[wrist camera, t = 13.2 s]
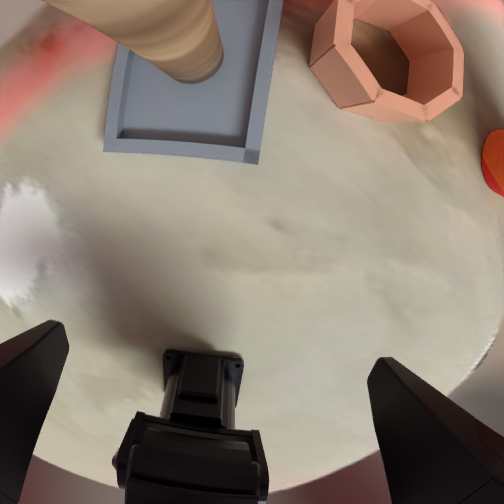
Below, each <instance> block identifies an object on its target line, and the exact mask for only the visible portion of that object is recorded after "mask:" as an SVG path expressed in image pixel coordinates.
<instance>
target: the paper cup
mask: <svg viewBox="0 0 504 504" xmlns="http://www.w3.org/2000/svg"><path fill="white" fill-rule="evenodd" d="M481 164H482V172H483V176H484V179H485V181H486V183H487V185H488V187H489V188H490V189H491V190H492V191H494V192H495V193H497V194H499V195H501V196H503V197H504V129H497V130H494V131H492V132H491V133H490V134H489V135H488V136H487V138H486V140H485V142H484V145H483V149H482V157H481Z"/></svg>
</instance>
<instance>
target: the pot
mask: <svg viewBox="0 0 504 504" xmlns="http://www.w3.org/2000/svg"><path fill="white" fill-rule="evenodd" d="M353 19H358V20H361V21H364V22H366V23H369V24H372V25H375V26H377V27H380V28H382V29H385V30H388V31H389V32H390V33H391V35H392V36H393V37H394V39H395V40H396V42H397V43H398V45H399V46H400V47H401V49H402V50H403V52H404V53H405V55H406V57H407V58H408V60H409V61H410V62H409V74H408V84H407V93H406V94H404V95H403V96H400V95H398V94H395V93H392V92H390V91H387V90H384V89H382V88H381V87H380V85H379V84H378V82H377V81H376V79H375V78H374V76H373V75H372V73H371V72H370V70H369V69H368V67H367V66H366V64H365V63H364V62H363V60H362V59H361V57H360V56H359V55H358V53H357V52H356V51H355V49H354V48H353V47H352V45H351V36H352V26H353ZM462 49H463V48H462V46H461V44H460V42H459V41H458V39H457V37H456V36H455V34H454V32H453V31H452V29H451V28H450V26H449V25H448V23H447V21H446V20H445V18H444V17H443V16H442V14H441V13H440V11H439V10H438V8H437V7H436V6H435V4H434V3H433V4H432V1H430V0H334V1H333V2H332V3H331V5H330V6H329V7H328V9H327V10H326V11H325V12H324V14H323V15H322V16H321V18H320V19H319V20H318V22H317V23H316V24H315V26H314V33H313V40H312V48H311V55H310V62H309V67H310V68H309V69H310V70H311V71H312V72H313V74H314V75H315V76H316V78H317V79H318V80H319V82H320V83H321V84H322V86H323V87H324V88H325V90H326V91H327V93H328V94H329V95H330V97H331V98H332V100H333V101H334V103H335V104H336V105H337V107H338V108H340V109H341V110H345V111H348V112H352V113H356V114H359V115H363V116H366V117H369V118H373V119H376V120H379V121H382V122H391V121H417V122H426V121H430V120H431V119H433V118H434V117H435V116H437V115H438V114H440V113H441V112H443V111H444V110H446V109H447V108H448V107H450V106H451V105H453V104H454V103H456V102H457V101H459V100H460V99H461V97H462V91H463V71H464V51H463V50H462Z"/></svg>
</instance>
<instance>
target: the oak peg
mask: <svg viewBox="0 0 504 504" xmlns="http://www.w3.org/2000/svg"><path fill="white" fill-rule="evenodd" d="M42 1H44V2H46V3H48V4H51V5H53V6H55V7H57V8H59V9H60V10H62V11H64V12H66V13H68V14H70V15H72V16H74V17H76V18H77V19H79V20H81V21H83V22H85V23H86V24H88V25H90V26H92V27H94V28H95V29H97V30H99V31H100V32H102V33H104V34H105V35H107V36H109V37H110V38H112V39H114V40H115V41H117V42H119V43H120V44H122V45H123V46H125V47H127V48H128V49H130V50H131V51H133V52H134V53H136V54H137V55H139V56H141V57H142V58H144V59H145V60H147V61H148V62H150V63H151V64H153V65H154V66H155V67H157V68H158V69H160V70H161V71H163V72H164V73H166V74H167V75H169V76H170V77H171V78H173V79H174V80H176V81H178V82H181V83H185V84H196V83H200V82H203V81H206V80H208V79H209V78H211V77H212V76H213V75H215V74H216V72H217V71H218V70H219V69H220V67H221V65H222V62H223V59H224V50H223V46H222V42H221V38H220V33H219V29H218V25H217V21H216V17H215V13H214V9H213V5H212V1H211V0H42Z"/></svg>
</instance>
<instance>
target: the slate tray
mask: <svg viewBox="0 0 504 504" xmlns="http://www.w3.org/2000/svg"><path fill="white" fill-rule="evenodd" d="M211 1H212V5H213V9H214V13H215V17H216V21H217V25H218V29H219V33H220V38H221V42H222V46H223V50H224V59H223V62H222V65H221V67H220V69H219V70H218V71H217V72H216V74H215V75H213V76H212V77H211V78H209V79H208V80H206V81H203V82H200V83H196V84H185V83H181V82H178V81H176V80H174V79H173V78H171V77H170V76H169V75H167V74H166V73H164V72H163V71H161V70H160V69H158V68H157V67H155V66H154V65H153V64H151V63H150V62H148V61H147V60H145V59H144V58H142V57H141V56H139V55H137V54H136V53H134V52H133V51H131V50H130V49H128V48H127V47H125V46H123V45H122V44H120V43H119V44H118V48H117V53H116V58H115V63H114V68H113V74H112V80H111V86H110V93H109V100H108V107H107V116H106V125H105V136H104V149H103V152H122V153H144V154H161V155H175V156H187V157H198V158H208V159H217V160H226V161H234V162H242V163H250V164H257V165H258V160H259V154H260V147H261V141H262V134H263V128H264V121H265V115H266V108H267V102H268V95H269V89H270V82H271V76H272V70H273V63H274V57H275V51H276V45H277V38H278V32H279V26H280V20H281V14H282V7H283V1H284V0H211Z"/></svg>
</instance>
